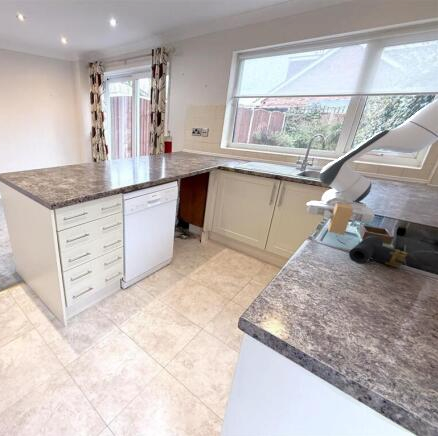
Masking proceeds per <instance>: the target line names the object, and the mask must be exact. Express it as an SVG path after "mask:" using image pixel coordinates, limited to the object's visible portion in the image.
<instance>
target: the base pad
mask: <svg viewBox="0 0 438 436" xmlns="http://www.w3.org/2000/svg"><path fill="white" fill-rule="evenodd" d="M354 232H355V235H356V237H357V239H358V240H359V243H360V242H361V241H363V240H364V239H365V238H366V237H368V236H376V237H378V238H380V239H381V240H382V242H383V246H385V247H389V248H392V249H395V247H394V245H393V244H392V243H393V242H394V241H393V240H394V238H395V236H394V235H393V234H392V233H391V231H390V230H389V229H388V228H384V227H379V226H373V225H367V224H362V223H361V224H360V225H359V228H356V229H354Z"/></svg>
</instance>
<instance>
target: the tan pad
mask: <svg viewBox="0 0 438 436" xmlns="http://www.w3.org/2000/svg"><path fill="white" fill-rule="evenodd" d="M352 211H353V207H352V206H351V205H347V204H340V203H336V204H335V208H334V211H333V214H334V216H333V219H329V223H328V226H327V230H328V232H329V233H333V234H338V235H343V236H344V235H345V233H346V230H347V227H348V226H349V223H350V222H349V220H350V217H351V214H352Z"/></svg>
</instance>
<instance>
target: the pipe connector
mask: <svg viewBox="0 0 438 436" xmlns="http://www.w3.org/2000/svg"><path fill="white" fill-rule="evenodd" d="M348 256H349V259H350V260H351V261H353V262H354V261H355V263H357V264H364V263H367V262H368V261H369V260H370V259H371V260H375V261H378V262H380V263H384V264H385V265H388V266H391V267H394V268H396V269H401V267H402V266H403V264H404V262H405V259H406V257H407V256H408V252H406V251H402V250H401V249H396V248H393V249H392V248H389V247H385V246H383V242H382V240H381V239H380V238H378V237H376V236H368V237H366V238H365V239H364V240H363V241H361V242H360V241H359V243H358V244H356V245H355V246H353V248H351V249H350V250H349V252H348Z"/></svg>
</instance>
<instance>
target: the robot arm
mask: <svg viewBox="0 0 438 436" xmlns="http://www.w3.org/2000/svg"><path fill="white" fill-rule="evenodd" d="M437 141H438V98H436V99H434V100H432V101H431V102H429V103H428V104H427V105H425V106H423V107H422V108H421V109H420V110H418V111H417V112H415V113H414V114H413V115H411V117H409V118H408V119H407V120H406V121H404V122H403V123H401V124H400V125H397V126H396V127H394V128H391V129H383V130H381V131H378V132H376V133H374V134H373V135H371V136H370V137H368V138H366V139H364V140H363V141H362V142H360V143H359V144H357V145H356V146H355V147H353V148H351V149H350V150H349V151H347V152H346V153H344V154H343V155H341V156H340V157H338V158H336V159H335V160H333V161H331V162H330V163H328V164H326V165H325V166H324V167H323V168H322V169H321V170H320V172H319V181H320V182H321V183H322V184H324V185H326V186H328V187H330V188H331V189H328V190H326V191H325V192H323V194H322V195H321V200H320V201H317V200H311V201H309V202H307V203H306V207H307V209H306V213H307V214H311V215H316V216H323V217H326V218H327V219H329V220H331V219H333V216H334V214H333V211H334V208H335V204H336V203H340V204H347V205H351V206H352V207H353V211H352V214H351V217H350V220H349V222H348V223H353V222H358V223H365V224H372V223H373V221H374V218H375V212H374V211H373V210H372V209H371V208H369V207H368V206H367V203H365V202H363V201H362V200H364V199H365V198H367V196H368V195H369V194H370V193H371V191H372V190H371V189H372V181H371V180H369V179H368V178H367V177H365V176H363V174H360V173H358V172H357V171H355V170H354V169H353V168H351V167H350V166H349V165H350V164H352V163H354V162H355V161H357V160H358V159H360V158H361V157H363V156H364V155H367V154H368V153H369V152H372V151H375V150H385V151H390V152H396V153H401V154H413V153H418V152H421V151H423V150H425V149H427V148H429V147H430V146H432V145H433V144H434V143H436V142H437ZM361 201H362V202H361Z"/></svg>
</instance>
